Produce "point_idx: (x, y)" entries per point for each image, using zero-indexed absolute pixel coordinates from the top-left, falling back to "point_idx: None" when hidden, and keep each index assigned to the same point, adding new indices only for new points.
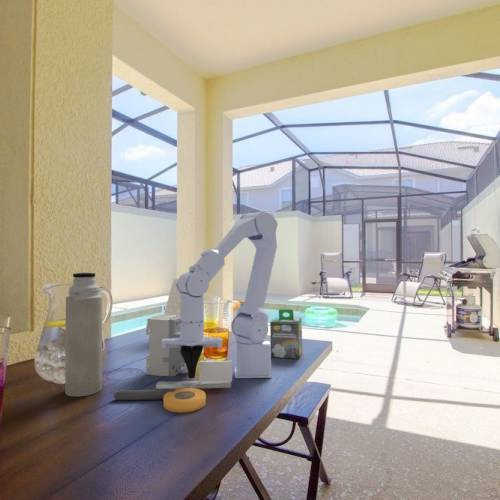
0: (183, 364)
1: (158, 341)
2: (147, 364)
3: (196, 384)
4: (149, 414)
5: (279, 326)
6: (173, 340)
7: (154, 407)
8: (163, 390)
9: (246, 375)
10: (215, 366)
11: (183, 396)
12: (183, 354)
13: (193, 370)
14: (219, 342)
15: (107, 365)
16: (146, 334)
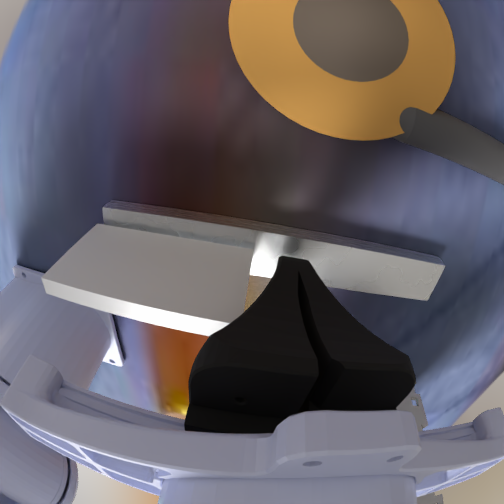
0: None
1: None
2: (420, 406)
3: (269, 231)
4: (472, 6)
5: None
6: (446, 475)
7: (464, 57)
8: (455, 134)
9: None
10: (137, 280)
11: (361, 10)
12: (390, 353)
13: (286, 274)
14: (22, 392)
15: (456, 419)
16: (441, 494)
